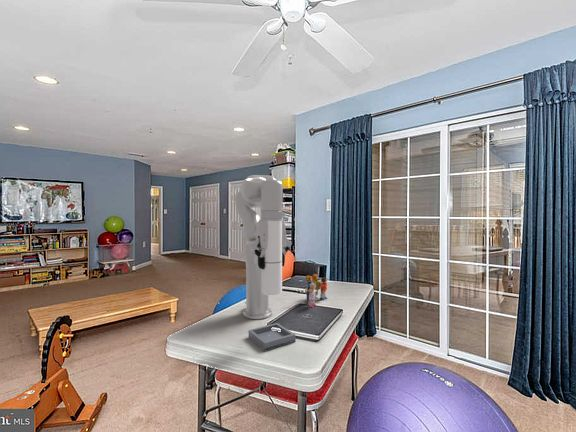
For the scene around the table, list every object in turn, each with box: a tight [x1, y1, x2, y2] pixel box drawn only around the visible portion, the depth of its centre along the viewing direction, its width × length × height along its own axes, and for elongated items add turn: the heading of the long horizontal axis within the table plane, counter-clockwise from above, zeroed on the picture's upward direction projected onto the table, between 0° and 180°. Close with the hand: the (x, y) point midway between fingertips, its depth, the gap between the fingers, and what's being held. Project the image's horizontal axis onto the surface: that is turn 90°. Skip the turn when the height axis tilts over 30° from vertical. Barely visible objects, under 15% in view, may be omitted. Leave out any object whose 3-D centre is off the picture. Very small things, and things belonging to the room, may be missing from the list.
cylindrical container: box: [261, 219, 283, 296], centre depth 103 cm, size 7×7×25 cm
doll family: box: [304, 273, 328, 309], centre depth 144 cm, size 21×10×13 cm, turn 151°
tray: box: [248, 322, 296, 352], centre depth 104 cm, size 12×12×2 cm
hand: (271, 266), depth 103 cm, fingers closed on cylindrical container, 7 cm apart
